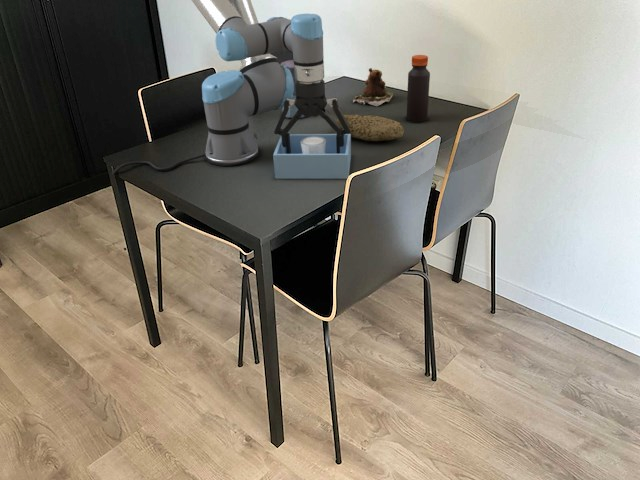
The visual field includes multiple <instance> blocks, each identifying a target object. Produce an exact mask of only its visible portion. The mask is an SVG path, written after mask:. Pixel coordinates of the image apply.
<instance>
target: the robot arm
mask: <svg viewBox="0 0 640 480" xmlns="http://www.w3.org/2000/svg"><path fill="white" fill-rule="evenodd" d="M191 2H192V3H193V4H194V6H195V7H196V8H197V9H198V11H199V12H200V14H201V15H202V17H203V18H204V19H205V20H206V22H207V23H208V24H209V26H210V27H211V28H212V30H213V31H214V33H215V47H216V50H217V51H218V55H219V57H220V58H221V59H222V60H223V61H225V62H236V61H240V62H241V65H240V67H239V69H238V70H237V69H236V70H235V69H229V70H223V71H219V72H216V73H213V74H211V75H209V76H207V77H206V78H205V79H204V81H202V84H201V94H202V95H201V98H202V102H203V107H204V114H205V119H206V125H207V131H208V135H207V139H206V146H205V152H204V153H202V154H198V155H195V156H190V157H188V158H184V159H182V160H179V161H177V162H175V163H173V164H171V165H169V166H165V167H158V166H157V165H155V164H154V163H153V162H151V161H148V160H141V161H140V160H138V161H129V162H125V163H123V164H121V165H118V166H117V167H115V169H114V170H113V171H112V173H111V175H112V176H114V175H116V174H117V172H119V171H120V170H121V169H123V168H124V167H128V166H133V165H149V166H151V168H153V169H155V170H156V171H168V170H171V169H174V168H176V167H177V166H180V165H181V164H183V163H188V162H190V161H194V160H197V159H200V158H201V159H202V158H204V157H205V159H206V161H207V162H208V163H209V164H212V165H215V166H221V167H232V166H233V167H234V166H239V165H244V164H247V163H250V162H252V161H253V160H255V159H256V158H257V157H258V156H259V147H258V144H257V141H256V140H258V135H257V134H256V132H254V131H253V133H252V132H251V129H250V122H249V117H253V116H257V115H260V114H261V115H262V114H264V113H267V112H271V111H278V110H279V109H281V108H282V109H283V107H284V110H283V112H282V111H281V114H280V117H279V119H278V122H277V124H276V127H275V128H274V131H273V133H274V134H275V135H278V136H280V137H282V146H283V147H286V151H287V154H291V146H290V134H291V133H289V131H291V129H292V128H293V126H294V125H295V124H296V123H297V122H298V120H299V119H301V118H300V117H301V116H302V115H304V116H305V117H304V118H308V117H309V118H310V117H316V118H317V117H318V116H320V117H321V118H322V119H323V120H324V121H325V122H326V123H327V124H328V125H329V126H330V127H331V128H332V130H333V131H335V132H336V134H337V135H336V148H337V154H340V147H343V146H344V135H345V134H349V133H350V126H349V124H348V122H347V120H346V119H345V117H344V115H345V114H344V113H343V111H342V109H341V108H340V106H339V101H338V97H337V96H333V97H332V98H327V97H326V86H325V85H326V84H325V82H326V81H325V80H324V79H325V62H324V59H325V58H324V30H323V21H322V20H323V19H322V17H321V16H320V15H319V14H317V13H298V14H295V15H293V16H292V17H291V19H289V18H287V17H283V16H272V17H269V18H268V19H267V20H266V21H263V22H259V20H258V17H257V14H256V12H255V8H254V6H253V3H252V1H251V0H191ZM283 51H285V52H289V53H292V55H293V58H292V60H293V59H294V74H295V80H297V81H296V82H295V89H296V99H295V100H292V97H293V92H294V82H293V77H292V74H291V72H290V70H289V69H287V67H286V66H284V65H279V64H280V63H279V60H278V58H277V57H276V56H274V55H273V54H274V53H278V52H283ZM292 105H295V106H296V107H297V108H298V111H297V112H296V114H295V115H294V116H293V117H292V118H290V120H289V121H288V123H287V124H286V125H285V126H284V127H283V128H282V126H283V124H284V121H285V119H286V118H287V117H286V114H287V112H288V110H289V108H291V107H292ZM327 105H329V107H330V108H332V111H333V112H334V114H335V116H336V118H337V120H338V119H339V121H340V123H341V125H342V127H343V128H342V127H341V126H340V125H339V124H338V123H337V122H336V119H335V118H334V117H333V116H332V115H331V114H330V113H329V111H328V110H327V109H326V106H327ZM255 139H256V140H255ZM123 251H127V247H123Z"/></svg>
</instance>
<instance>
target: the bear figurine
mask: <svg viewBox="0 0 640 480" xmlns="http://www.w3.org/2000/svg"><path fill="white" fill-rule="evenodd" d="M368 72H369V74H368V75H367V79H366V80H365V81H364V83H365V85H366V87H364V88H363V91H362V93H360V95H359V94H358V95H356V96H354V97H353V99H352V103H355V102H357V103H358V104H360V105H364V106H365V104H369V105H371V106H375V107H378V106H380V105H382V104H383V103H385V102H387V103H389V102H390V101H391V100H392V98H393V96H394V92H390V91H389V90H386V89H387V85H386V82H385V81H384V80H383V78H382V76H383V72H382V71H381V70H380V69H373V68H372V67H370V68H368Z"/></svg>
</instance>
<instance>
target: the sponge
mask: <svg viewBox="0 0 640 480" xmlns="http://www.w3.org/2000/svg"><path fill="white" fill-rule="evenodd" d="M343 115H344V117H345V119H346V120H347V122H348V124H349V126H350V133H349V134H351V138H353V139H357V140H363V141H368V142H369V141H370V142H384V141H393V140H396V139H400V138H403V136H404V133H405V132H404V128H403V125H402V124H401V123H400V122H399V121H396V120H394V119H390V118H387V117H383V116H379V115H359V114H356V113H354V114H343ZM335 121H336V122H337V123H338V124H339V125H340V126H341V127H342V125H341V123H340V121H339V119H338V118H337V119H335ZM342 128H343V127H342Z"/></svg>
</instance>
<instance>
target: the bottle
mask: <svg viewBox="0 0 640 480" xmlns="http://www.w3.org/2000/svg"><path fill="white" fill-rule="evenodd" d="M428 63H429V56H428V55H425V54H416V55H412V56H411V67H412V68H411V69H410V70H409V71H408V73H407V95H406V96H407V97H406V98H407V99H406V116H405V117H406V120H407V121H408V122H411V123H423V122H426V121H427V120H428V115H429V114H428V112H429V97H430V83H431V82H430V79H431V72H430V71H429V69H427V67H428Z"/></svg>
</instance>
